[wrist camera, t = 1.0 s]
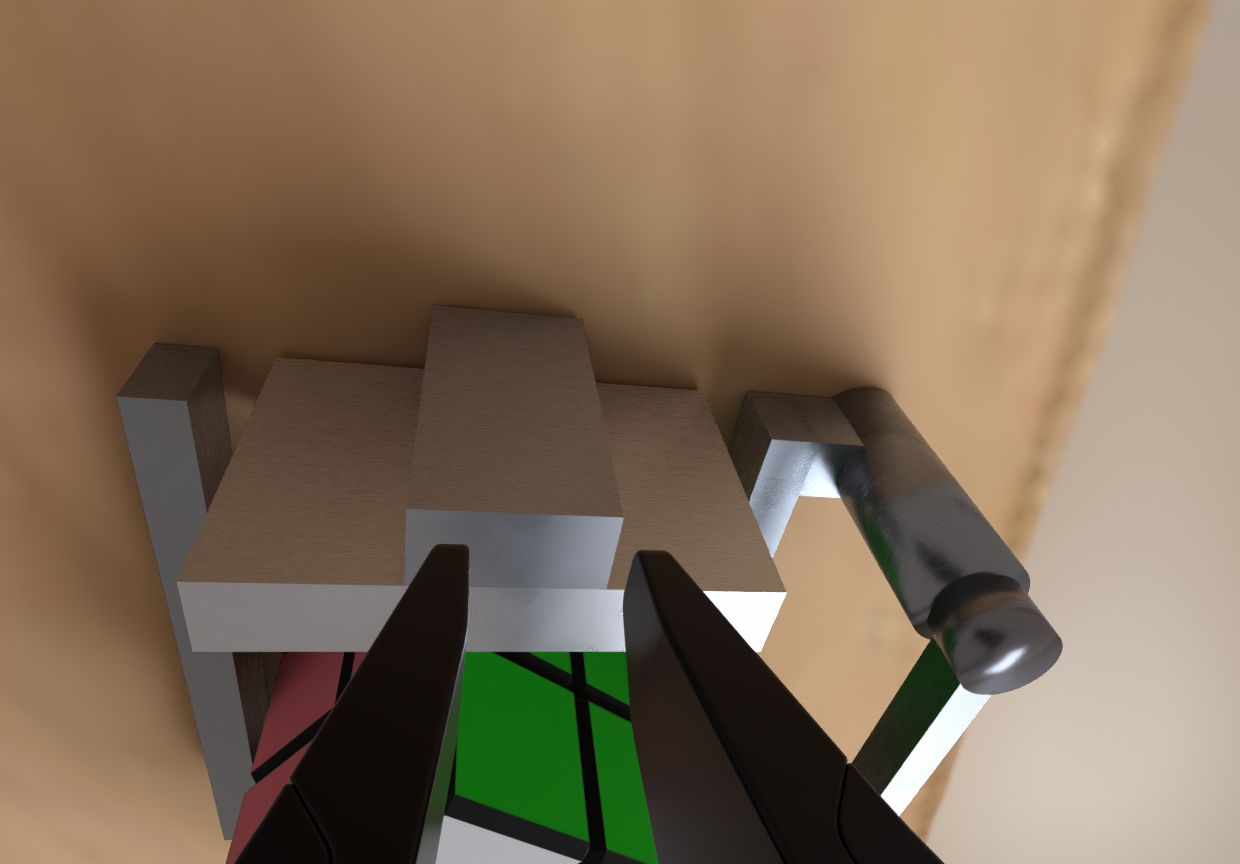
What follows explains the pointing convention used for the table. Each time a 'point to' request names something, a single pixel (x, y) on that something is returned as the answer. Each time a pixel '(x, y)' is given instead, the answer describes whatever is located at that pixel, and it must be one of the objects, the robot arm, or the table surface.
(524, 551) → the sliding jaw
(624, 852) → the puzzle cube
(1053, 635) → the lever
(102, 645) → the table surface
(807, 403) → the base
